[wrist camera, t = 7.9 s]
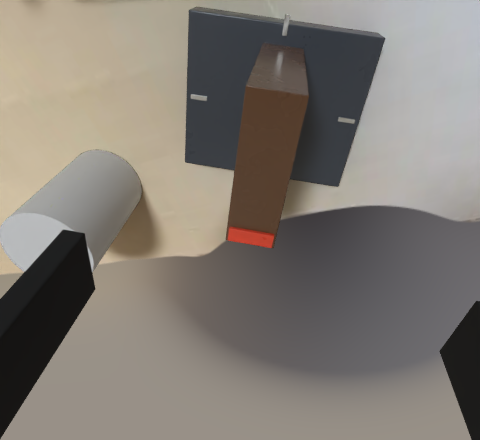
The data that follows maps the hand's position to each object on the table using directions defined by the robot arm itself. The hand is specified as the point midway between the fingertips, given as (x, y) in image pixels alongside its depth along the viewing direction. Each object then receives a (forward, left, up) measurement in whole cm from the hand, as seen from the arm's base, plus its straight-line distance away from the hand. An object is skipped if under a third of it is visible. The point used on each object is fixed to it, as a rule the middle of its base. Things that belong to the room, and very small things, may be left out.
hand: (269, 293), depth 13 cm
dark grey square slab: (+1, +1, -25) cm, 25 cm away
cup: (+18, +13, -25) cm, 33 cm away
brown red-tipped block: (+1, +1, -22) cm, 22 cm away
